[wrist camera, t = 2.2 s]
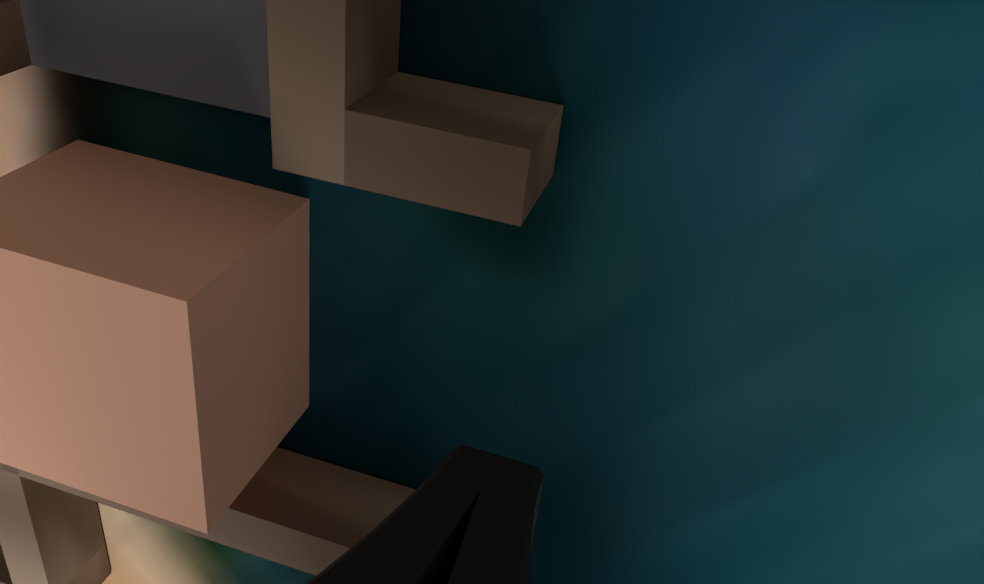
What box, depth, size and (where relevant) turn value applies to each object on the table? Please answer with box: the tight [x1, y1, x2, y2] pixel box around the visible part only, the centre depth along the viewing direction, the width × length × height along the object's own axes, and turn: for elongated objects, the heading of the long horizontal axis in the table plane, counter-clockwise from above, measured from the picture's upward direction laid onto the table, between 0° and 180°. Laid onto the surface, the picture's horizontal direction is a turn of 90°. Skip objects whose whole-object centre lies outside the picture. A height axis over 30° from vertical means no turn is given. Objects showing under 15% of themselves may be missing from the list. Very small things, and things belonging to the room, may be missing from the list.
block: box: [0, 140, 309, 534], centre depth 16 cm, size 5×5×4 cm
